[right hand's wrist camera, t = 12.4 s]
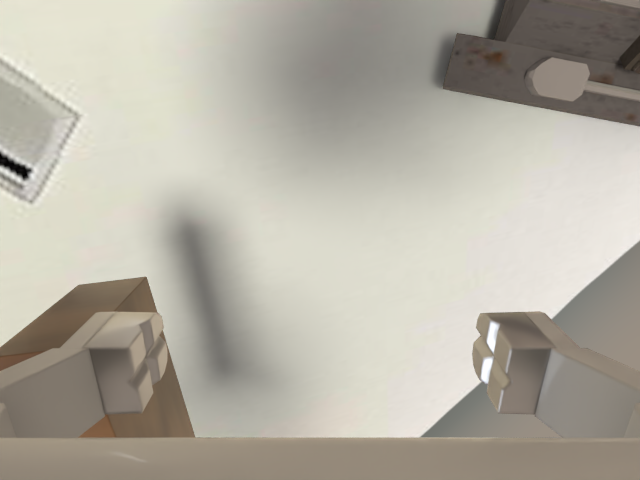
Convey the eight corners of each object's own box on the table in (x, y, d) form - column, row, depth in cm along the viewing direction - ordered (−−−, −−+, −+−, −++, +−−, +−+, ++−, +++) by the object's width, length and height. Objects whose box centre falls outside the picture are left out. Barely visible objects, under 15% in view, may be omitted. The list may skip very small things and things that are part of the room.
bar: (78, 284, 30) (-15, 358, 21) (146, 276, 30) (80, 347, 21) (156, 495, 37) (110, 611, 29) (211, 490, 37) (181, 604, 29)
